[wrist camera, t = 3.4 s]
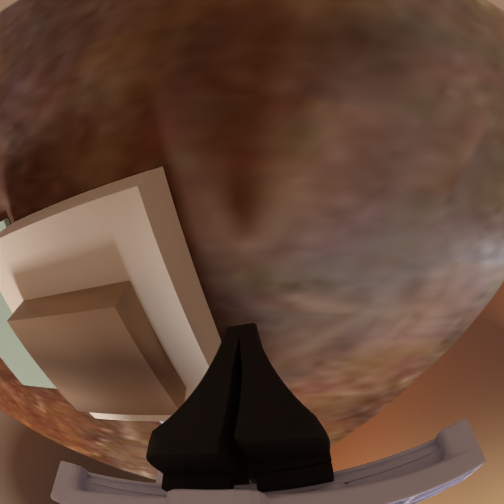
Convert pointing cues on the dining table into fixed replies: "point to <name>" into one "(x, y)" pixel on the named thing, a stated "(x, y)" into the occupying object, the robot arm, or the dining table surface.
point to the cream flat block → (117, 265)
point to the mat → (18, 347)
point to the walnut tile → (100, 351)
